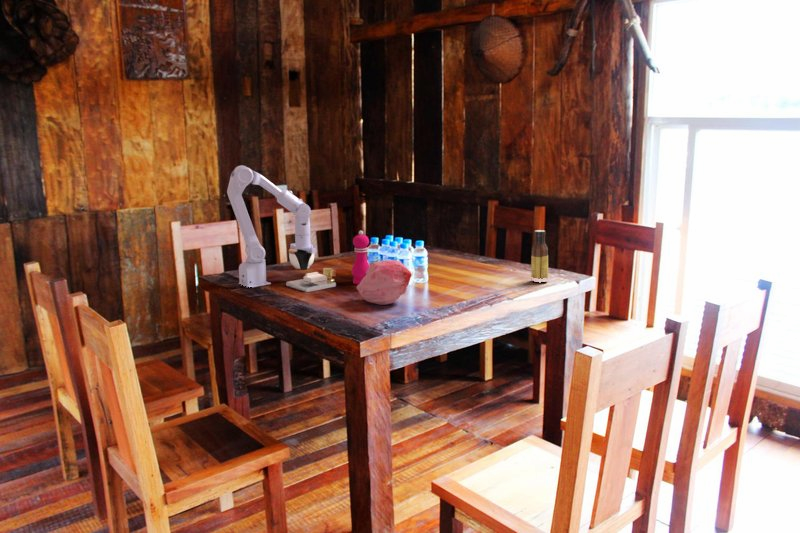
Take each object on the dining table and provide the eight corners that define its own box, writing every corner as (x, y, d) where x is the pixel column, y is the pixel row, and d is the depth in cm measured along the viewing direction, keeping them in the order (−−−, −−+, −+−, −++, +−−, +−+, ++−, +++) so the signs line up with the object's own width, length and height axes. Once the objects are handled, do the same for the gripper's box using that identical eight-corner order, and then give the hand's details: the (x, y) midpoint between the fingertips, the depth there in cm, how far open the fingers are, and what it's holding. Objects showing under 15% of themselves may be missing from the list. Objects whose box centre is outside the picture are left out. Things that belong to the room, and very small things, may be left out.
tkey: (320, 280, 264) (320, 268, 263) (328, 278, 266) (328, 266, 265) (330, 282, 259) (329, 270, 258) (338, 281, 262) (337, 269, 261)
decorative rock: (419, 282, 236) (395, 246, 235) (420, 288, 222) (394, 249, 221) (374, 312, 238) (349, 276, 236) (372, 319, 223) (346, 281, 222)
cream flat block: (311, 282, 252) (311, 276, 252) (303, 280, 256) (303, 274, 256) (326, 279, 257) (326, 273, 257) (318, 277, 261) (318, 271, 260)
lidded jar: (292, 271, 280) (291, 248, 278) (286, 266, 289) (285, 244, 287) (317, 269, 283) (317, 246, 282) (311, 264, 293) (310, 242, 291)
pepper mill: (368, 285, 255) (367, 232, 251) (349, 284, 257) (348, 231, 253) (372, 281, 262) (372, 229, 258) (354, 280, 264) (354, 228, 260)
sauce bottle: (546, 280, 265) (549, 229, 261) (548, 284, 259) (551, 232, 254) (529, 279, 265) (531, 229, 261) (531, 283, 259) (533, 231, 255)
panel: (306, 292, 245) (306, 288, 244) (286, 285, 254) (286, 281, 254) (335, 286, 253) (335, 282, 253) (315, 280, 263) (315, 276, 262)
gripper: (322, 235, 256) (323, 271, 259) (300, 231, 266) (301, 265, 269) (307, 237, 251) (308, 273, 254) (285, 233, 262) (286, 267, 265)
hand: (303, 269), depth 261 cm, fingers closed
